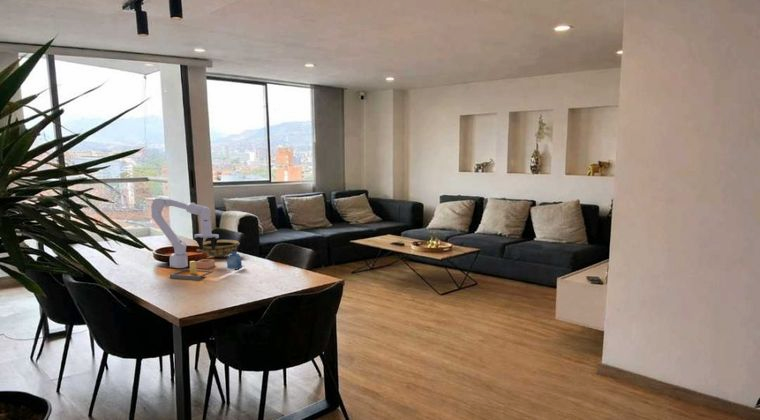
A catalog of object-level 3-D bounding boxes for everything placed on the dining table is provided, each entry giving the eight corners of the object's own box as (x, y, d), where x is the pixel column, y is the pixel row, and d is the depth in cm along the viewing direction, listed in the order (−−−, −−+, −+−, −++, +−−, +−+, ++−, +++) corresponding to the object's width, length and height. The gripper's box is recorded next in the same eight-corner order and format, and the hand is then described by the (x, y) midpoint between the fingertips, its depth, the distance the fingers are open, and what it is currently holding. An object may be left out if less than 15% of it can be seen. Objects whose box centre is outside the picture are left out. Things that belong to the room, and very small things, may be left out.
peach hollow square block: (195, 270, 287) (195, 261, 287) (203, 267, 295) (203, 259, 294) (207, 271, 285) (207, 262, 285) (215, 268, 293) (214, 259, 292)
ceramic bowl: (230, 251, 339) (229, 237, 338) (250, 256, 323) (249, 241, 322) (188, 258, 317) (187, 243, 316) (207, 264, 301) (206, 248, 300)
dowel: (189, 275, 273) (188, 262, 272) (192, 273, 276) (192, 260, 275) (194, 275, 272) (193, 262, 271) (197, 274, 275) (197, 261, 274)
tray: (170, 278, 270) (169, 274, 270) (184, 272, 283) (184, 268, 282) (199, 280, 266) (198, 276, 265) (212, 274, 278) (212, 270, 278)
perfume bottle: (241, 267, 294) (241, 247, 292) (237, 270, 288) (236, 250, 286) (231, 267, 294) (230, 247, 293) (227, 270, 288) (226, 249, 287)
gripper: (191, 228, 290) (192, 250, 292) (213, 228, 287) (215, 251, 289) (197, 226, 297) (199, 248, 299) (219, 226, 294) (221, 249, 296)
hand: (207, 249), depth 294 cm, fingers open, 7 cm apart
